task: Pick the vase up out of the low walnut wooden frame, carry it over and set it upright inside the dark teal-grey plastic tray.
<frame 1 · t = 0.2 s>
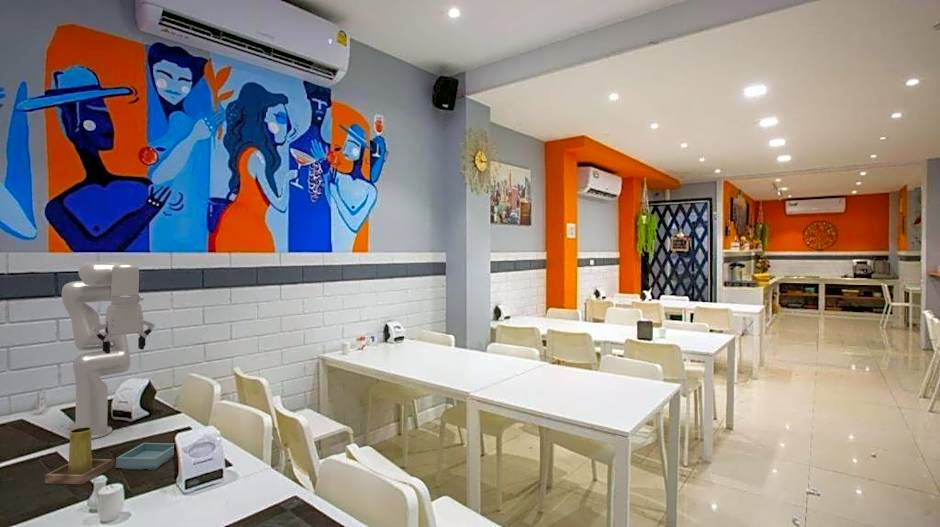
hand: (124, 351, 159), 37 cm above the table, tool pointing down, fingers open, 9 cm apart
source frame: (80, 474, 146), on the table
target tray: (148, 460, 157), on the table
vase: (80, 475, 146), resting in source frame
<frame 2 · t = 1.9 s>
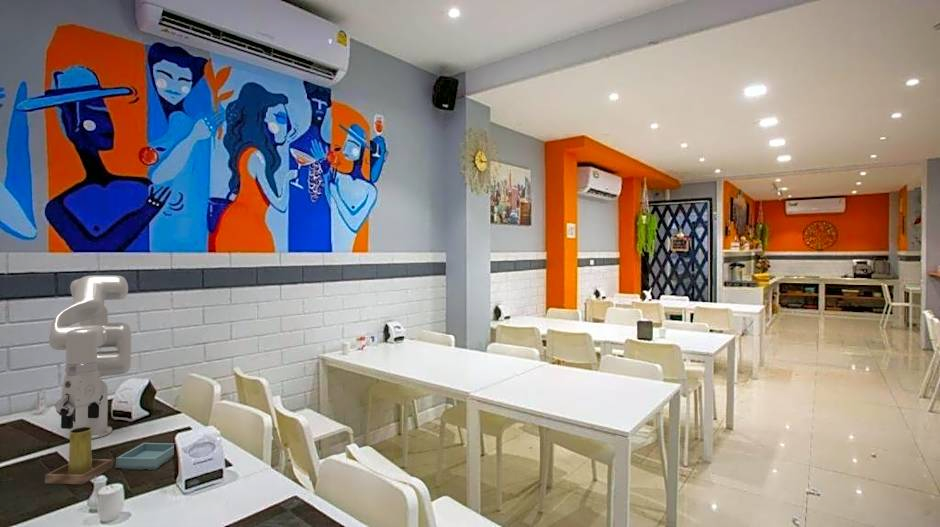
hand: (80, 422, 146), 17 cm above the table, tool pointing down, fingers open, 9 cm apart
nothing on the table moved.
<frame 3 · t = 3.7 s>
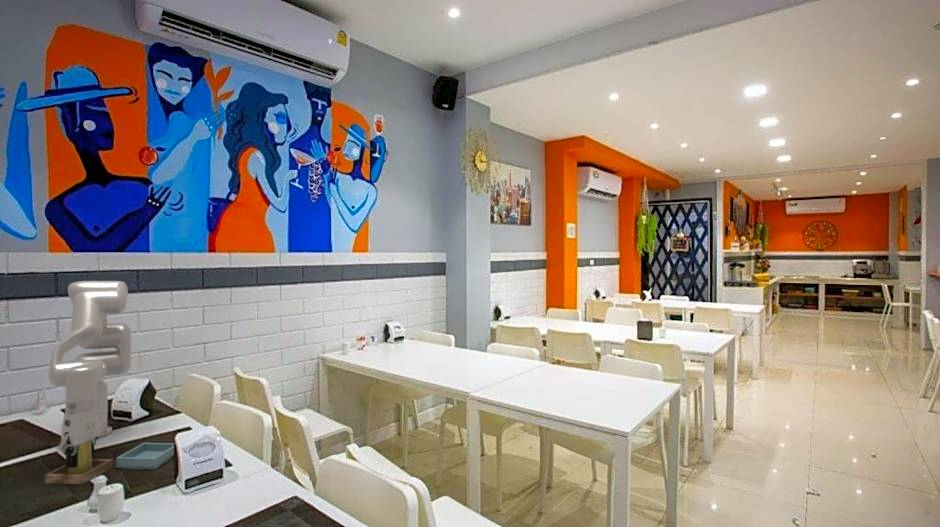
hand: (80, 462, 146), 4 cm above the table, tool pointing down, fingers closed on vase, 5 cm apart
vase: (80, 475, 146), resting in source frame, touching gripper
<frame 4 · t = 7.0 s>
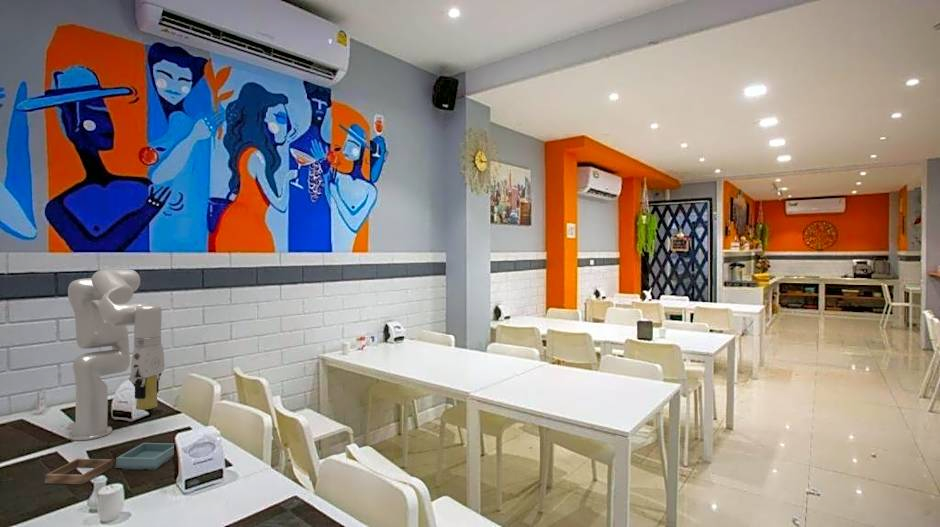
hand: (146, 395, 157), 22 cm above the table, tool pointing down, fingers closed on vase, 5 cm apart
vase: (146, 407, 157), point 18 cm above the table, touching gripper
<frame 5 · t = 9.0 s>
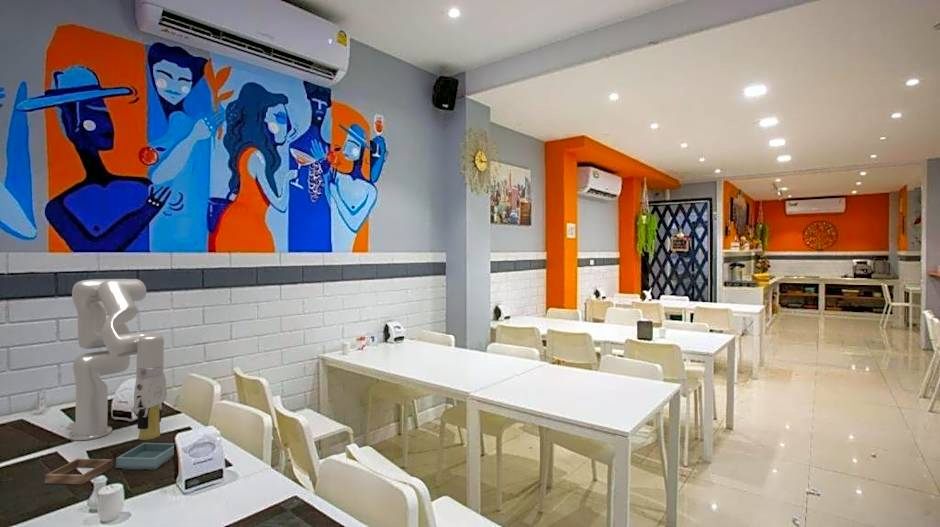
hand: (149, 424, 157), 12 cm above the table, tool pointing down, fingers closed on vase, 5 cm apart
vase: (149, 437, 157), point 8 cm above the table, touching gripper
when the fingers open (7 cm above the table, at t = 10.5 s): vase drops 2 cm, resting on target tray.
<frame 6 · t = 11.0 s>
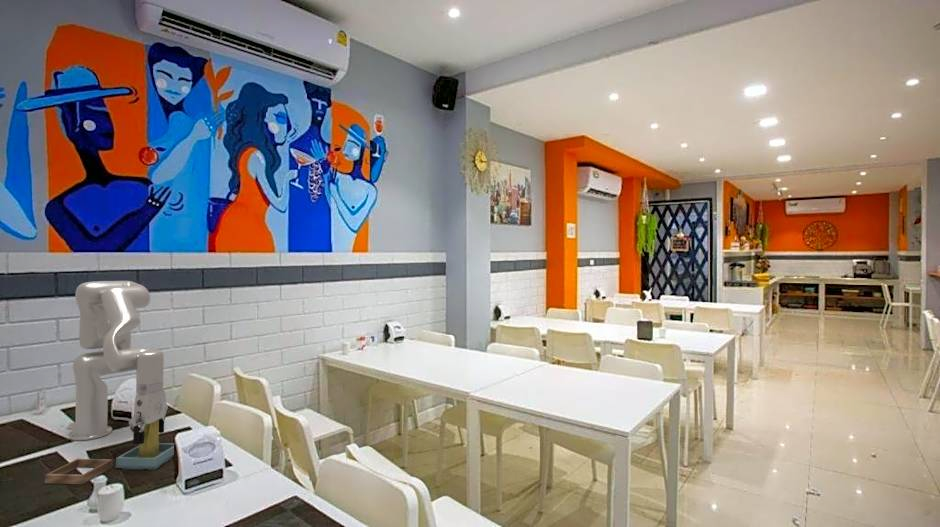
hand: (149, 437, 157), 8 cm above the table, tool pointing down, fingers open, 9 cm apart
vase: (148, 457, 157), point 1 cm above the table, touching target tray
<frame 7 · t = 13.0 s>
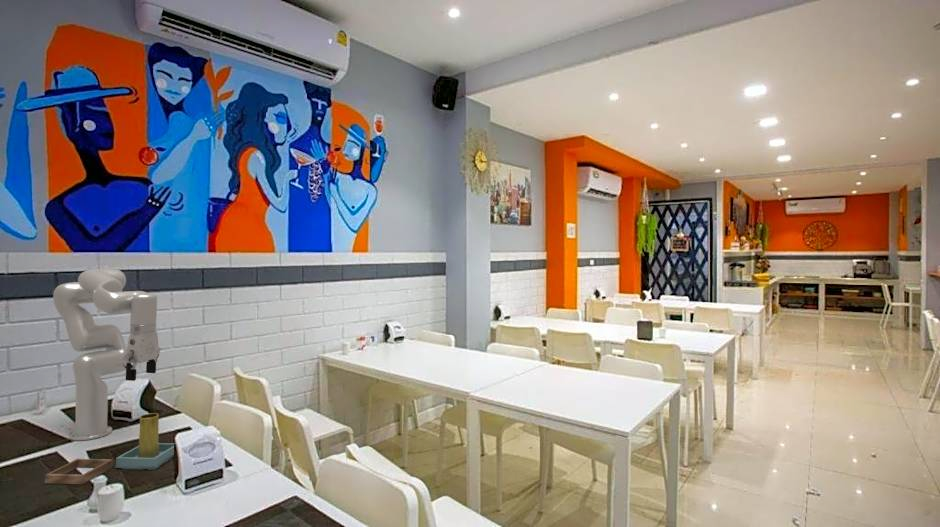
hand: (141, 376, 165), 26 cm above the table, tool pointing down, fingers open, 9 cm apart
nothing on the table moved.
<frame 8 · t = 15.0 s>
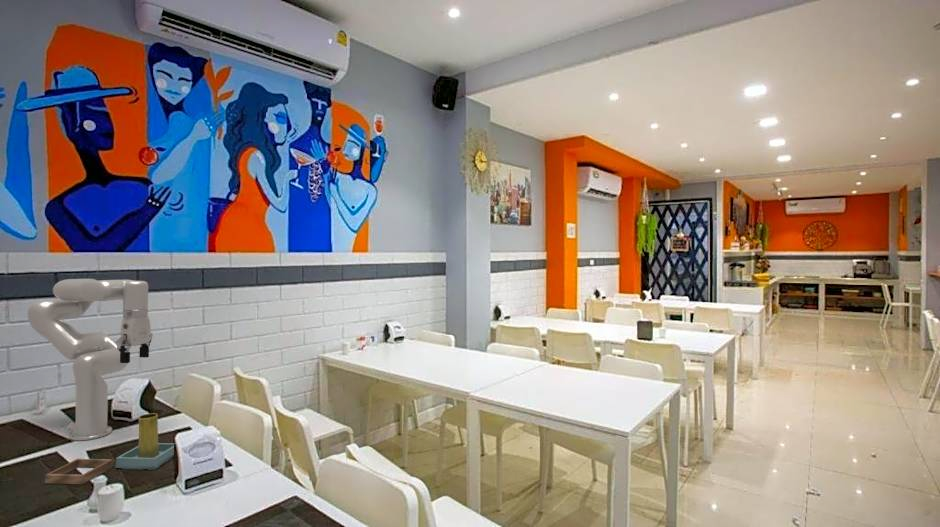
hand: (134, 359, 173), 30 cm above the table, tool pointing down, fingers open, 9 cm apart
nothing on the table moved.
at the end: vase 0.2 cm off-centre on the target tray, point 0.9 cm above the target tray's base; vase tilted 1°; the gripper is holding nothing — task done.
